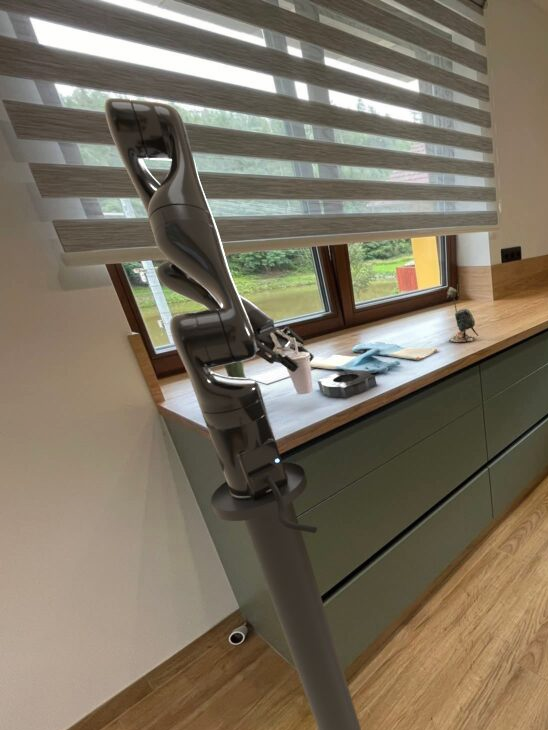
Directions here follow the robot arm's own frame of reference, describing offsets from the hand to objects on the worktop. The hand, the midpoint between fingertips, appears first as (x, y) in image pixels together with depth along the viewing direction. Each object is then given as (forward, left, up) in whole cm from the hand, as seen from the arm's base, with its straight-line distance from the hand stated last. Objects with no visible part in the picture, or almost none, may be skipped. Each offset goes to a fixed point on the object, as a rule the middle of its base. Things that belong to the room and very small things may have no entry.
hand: (304, 364), depth 105 cm
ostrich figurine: (+2, -62, -11) cm, 63 cm away
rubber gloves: (+16, -32, -11) cm, 38 cm away
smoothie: (+1, +1, -8) cm, 8 cm away
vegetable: (+17, +9, -1) cm, 19 cm away
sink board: (+1, -11, -11) cm, 16 cm away
